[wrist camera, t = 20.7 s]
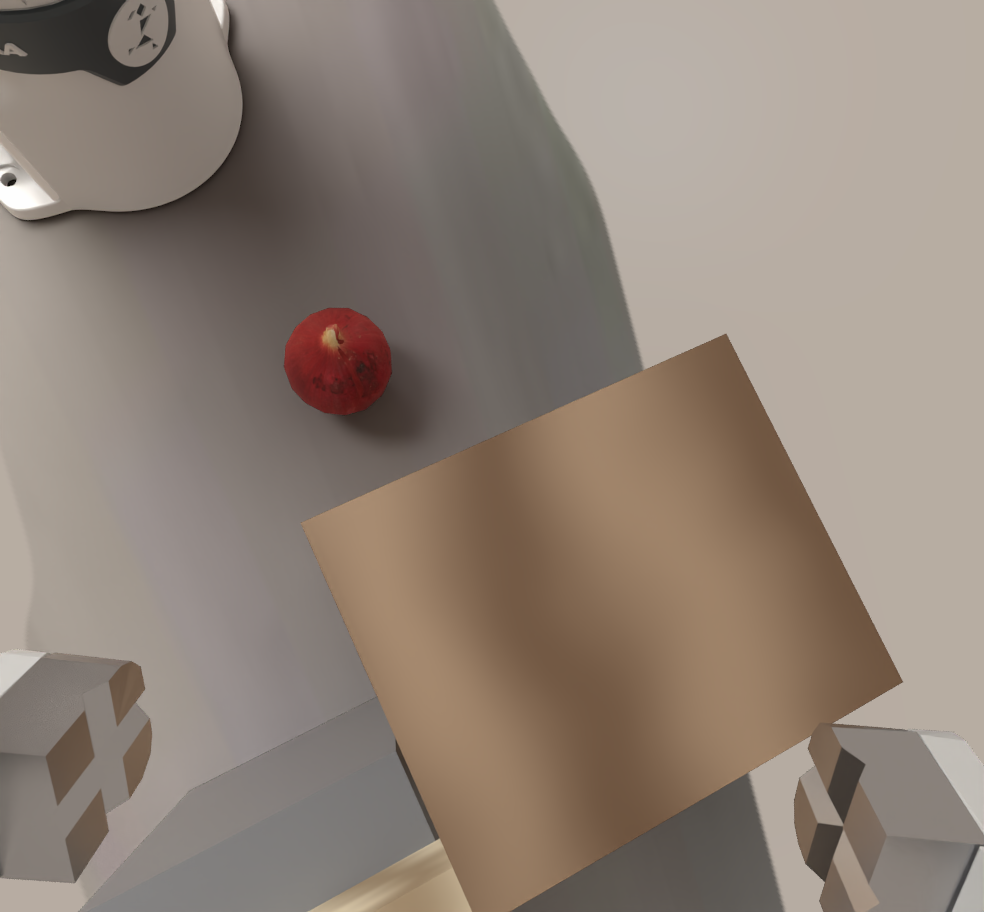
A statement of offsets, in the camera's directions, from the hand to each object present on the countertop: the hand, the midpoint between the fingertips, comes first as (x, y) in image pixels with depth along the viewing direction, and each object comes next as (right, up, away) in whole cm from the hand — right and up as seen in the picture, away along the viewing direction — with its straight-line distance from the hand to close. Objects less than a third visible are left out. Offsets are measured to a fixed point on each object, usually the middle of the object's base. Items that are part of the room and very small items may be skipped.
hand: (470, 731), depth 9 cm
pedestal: (0, -4, +34) cm, 35 cm away
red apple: (-9, +8, +35) cm, 37 cm away
